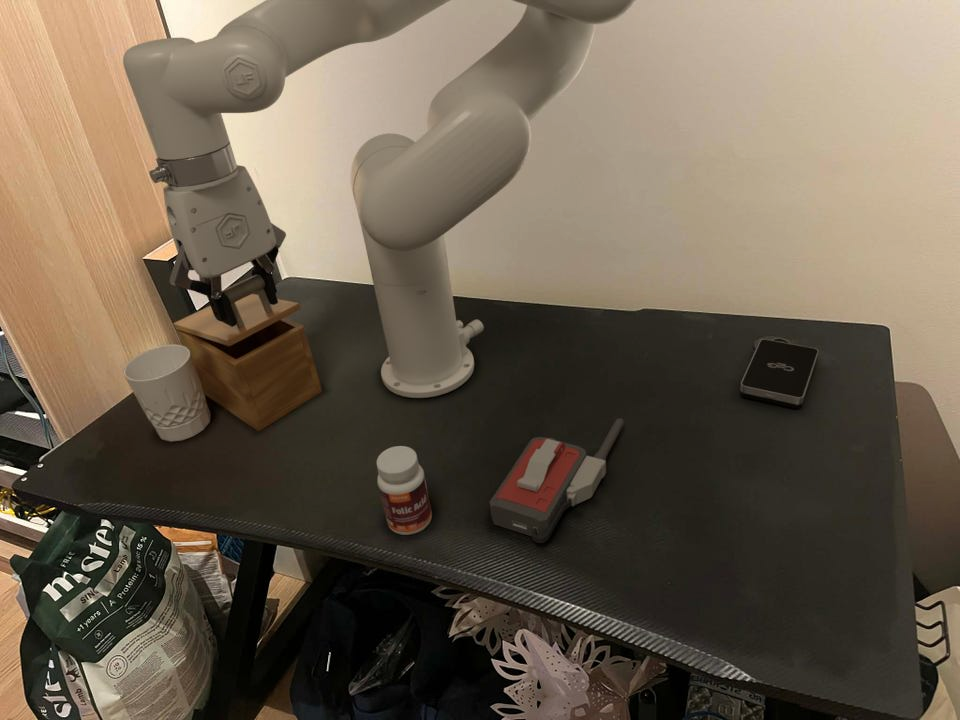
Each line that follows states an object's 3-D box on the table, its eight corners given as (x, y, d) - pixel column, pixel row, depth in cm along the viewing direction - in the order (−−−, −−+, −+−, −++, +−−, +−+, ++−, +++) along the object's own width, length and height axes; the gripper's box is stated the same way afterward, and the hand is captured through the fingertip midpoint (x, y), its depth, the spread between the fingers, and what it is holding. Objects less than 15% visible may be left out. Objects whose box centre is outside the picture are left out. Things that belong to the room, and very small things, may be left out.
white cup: (195, 446, 88) (167, 381, 83) (140, 443, 90) (109, 379, 84) (226, 407, 95) (202, 344, 89) (174, 405, 96) (147, 343, 91)
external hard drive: (817, 362, 89) (819, 348, 88) (800, 413, 81) (802, 399, 80) (759, 351, 92) (760, 338, 91) (737, 399, 84) (739, 386, 83)
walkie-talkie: (562, 558, 68) (630, 431, 82) (560, 526, 65) (630, 400, 79) (481, 532, 72) (559, 414, 86) (476, 500, 69) (557, 385, 83)
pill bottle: (397, 543, 72) (382, 482, 67) (381, 514, 75) (365, 454, 71) (440, 524, 73) (428, 463, 68) (422, 496, 77) (409, 436, 72)
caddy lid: (301, 308, 88) (285, 266, 85) (229, 346, 82) (210, 302, 79) (242, 296, 98) (226, 258, 96) (175, 329, 92) (156, 289, 90)
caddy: (322, 391, 95) (303, 326, 89) (258, 431, 89) (233, 364, 84) (263, 358, 104) (242, 296, 98) (201, 392, 98) (175, 329, 93)
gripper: (140, 199, 69) (202, 354, 79) (285, 145, 79) (323, 289, 89) (107, 187, 73) (170, 335, 83) (248, 137, 83) (289, 275, 93)
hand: (248, 310), depth 86 cm, fingers closed on caddy lid, 5 cm apart
